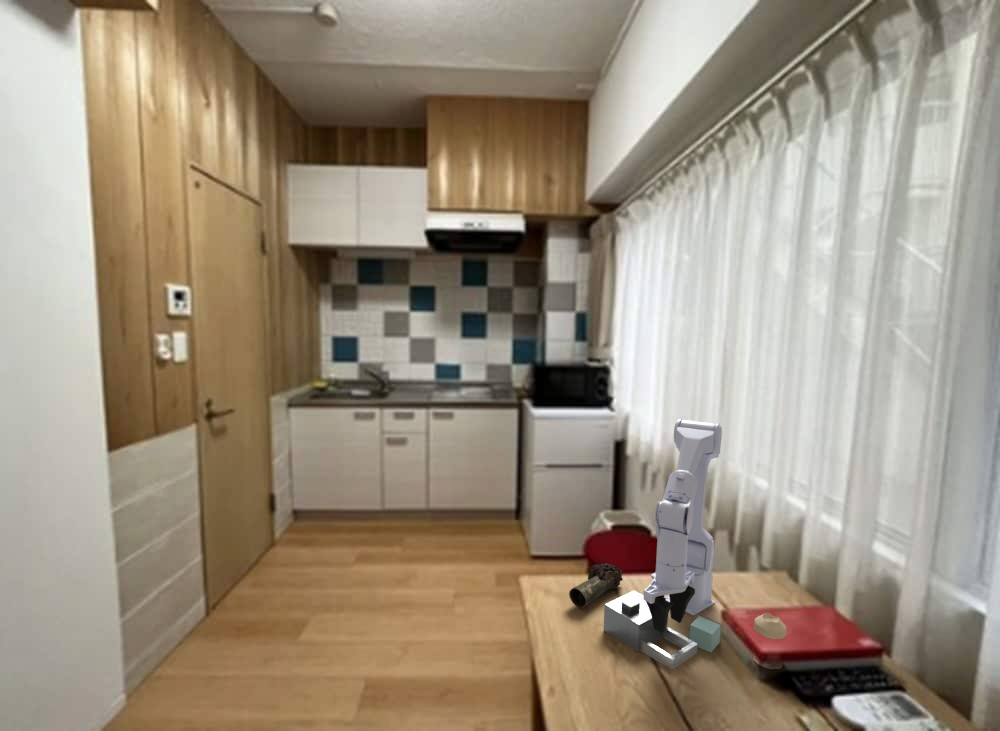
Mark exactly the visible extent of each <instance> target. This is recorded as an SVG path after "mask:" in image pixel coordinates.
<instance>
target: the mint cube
mask: <svg viewBox="0 0 1000 731" xmlns="http://www.w3.org/2000/svg"><path fill="white" fill-rule="evenodd" d="M721 635H722V623H720V622H717V621H715V620H713V619H710V618H708V617H705V616H703V615H701V614H699V616H698V617H696V618H695V620H694V621H692V623H690V626H689V639H690V640H692V641H694V642H695V643H697V644H698V648H699V649H700V650H701V649H702V650H704V651H706V652H708V653H712V652H713V651H714V650H715V649H716V647H718V645H719V644H720V643H721V638H722V636H721Z"/></svg>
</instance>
